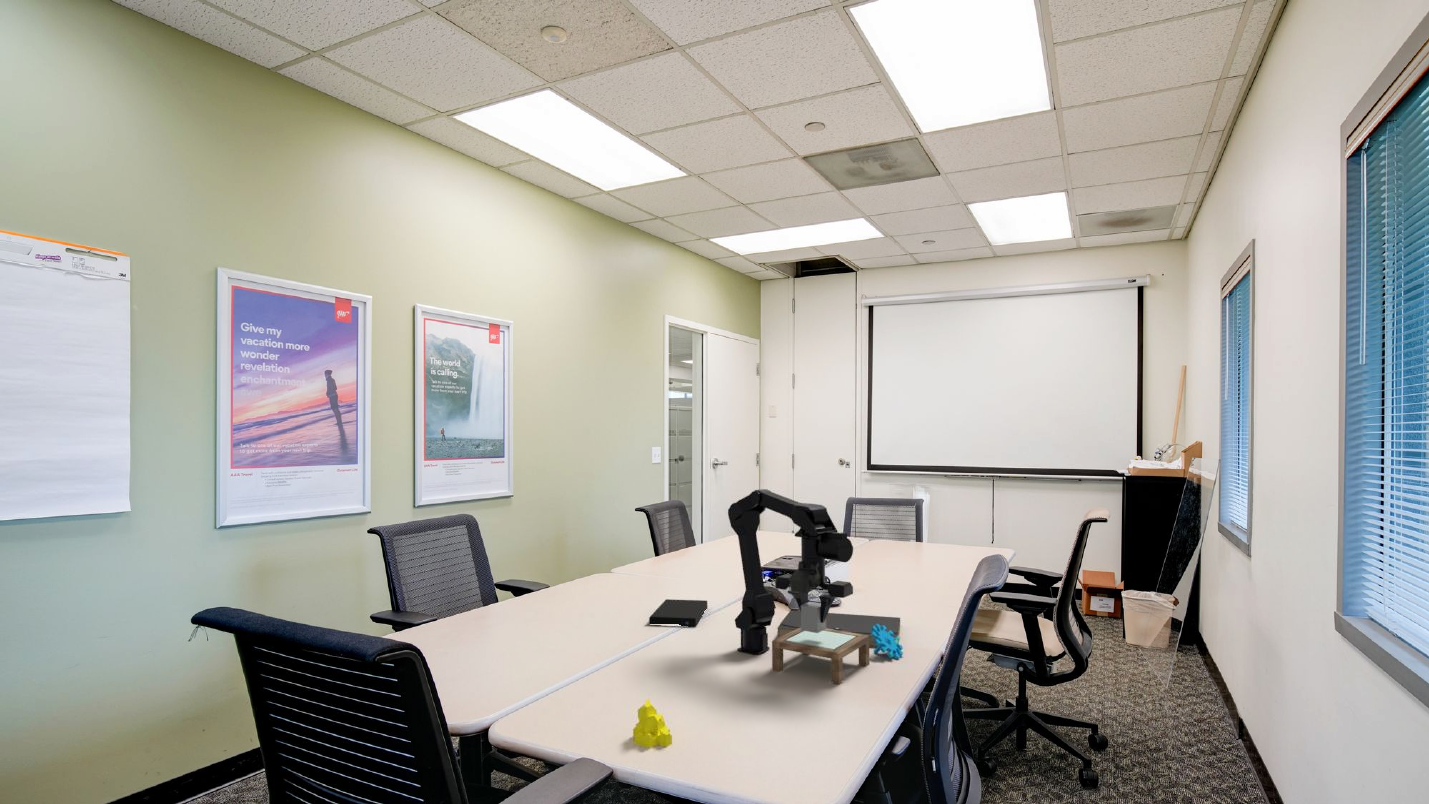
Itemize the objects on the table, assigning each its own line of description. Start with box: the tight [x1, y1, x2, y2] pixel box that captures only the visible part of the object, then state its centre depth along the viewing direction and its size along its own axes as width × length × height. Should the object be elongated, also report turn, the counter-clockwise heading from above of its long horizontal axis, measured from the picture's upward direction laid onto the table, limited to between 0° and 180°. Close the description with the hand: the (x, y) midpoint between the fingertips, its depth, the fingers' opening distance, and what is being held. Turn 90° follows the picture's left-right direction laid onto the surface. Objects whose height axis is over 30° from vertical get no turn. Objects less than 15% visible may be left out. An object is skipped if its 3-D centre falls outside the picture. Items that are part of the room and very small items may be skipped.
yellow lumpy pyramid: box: [632, 698, 673, 749], centre depth 132 cm, size 6×8×8 cm
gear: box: [871, 624, 904, 660], centre depth 184 cm, size 11×6×10 cm
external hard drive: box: [648, 598, 708, 628], centre depth 223 cm, size 14×23×3 cm, turn 172°
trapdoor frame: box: [771, 627, 870, 685], centre depth 174 cm, size 18×18×7 cm
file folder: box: [776, 609, 901, 647], centre depth 204 cm, size 33×4×24 cm
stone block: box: [801, 601, 826, 633], centre depth 172 cm, size 4×4×6 cm
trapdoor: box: [785, 631, 856, 650], centre depth 174 cm, size 13×13×1 cm
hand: (813, 621), depth 172 cm, fingers closed on stone block, 4 cm apart
